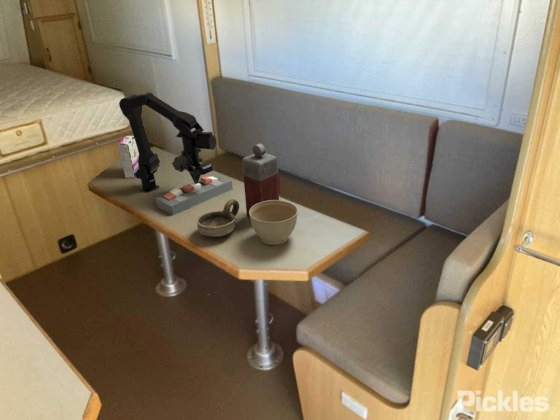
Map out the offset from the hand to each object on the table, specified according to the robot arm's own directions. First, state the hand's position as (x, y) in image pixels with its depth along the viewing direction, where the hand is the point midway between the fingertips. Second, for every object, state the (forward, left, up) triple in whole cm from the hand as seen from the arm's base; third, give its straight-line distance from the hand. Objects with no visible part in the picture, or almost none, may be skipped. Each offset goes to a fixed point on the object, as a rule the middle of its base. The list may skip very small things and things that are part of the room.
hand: (196, 183), depth 193 cm
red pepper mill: (+34, +6, -5) cm, 35 cm away
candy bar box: (-41, -6, -5) cm, 42 cm away
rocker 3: (0, +6, -1) cm, 7 cm away
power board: (+2, -3, -5) cm, 6 cm away
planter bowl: (+49, -4, -5) cm, 49 cm away
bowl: (+31, -13, -5) cm, 34 cm away
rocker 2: (0, -3, -1) cm, 3 cm away
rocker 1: (0, -12, -1) cm, 12 cm away
